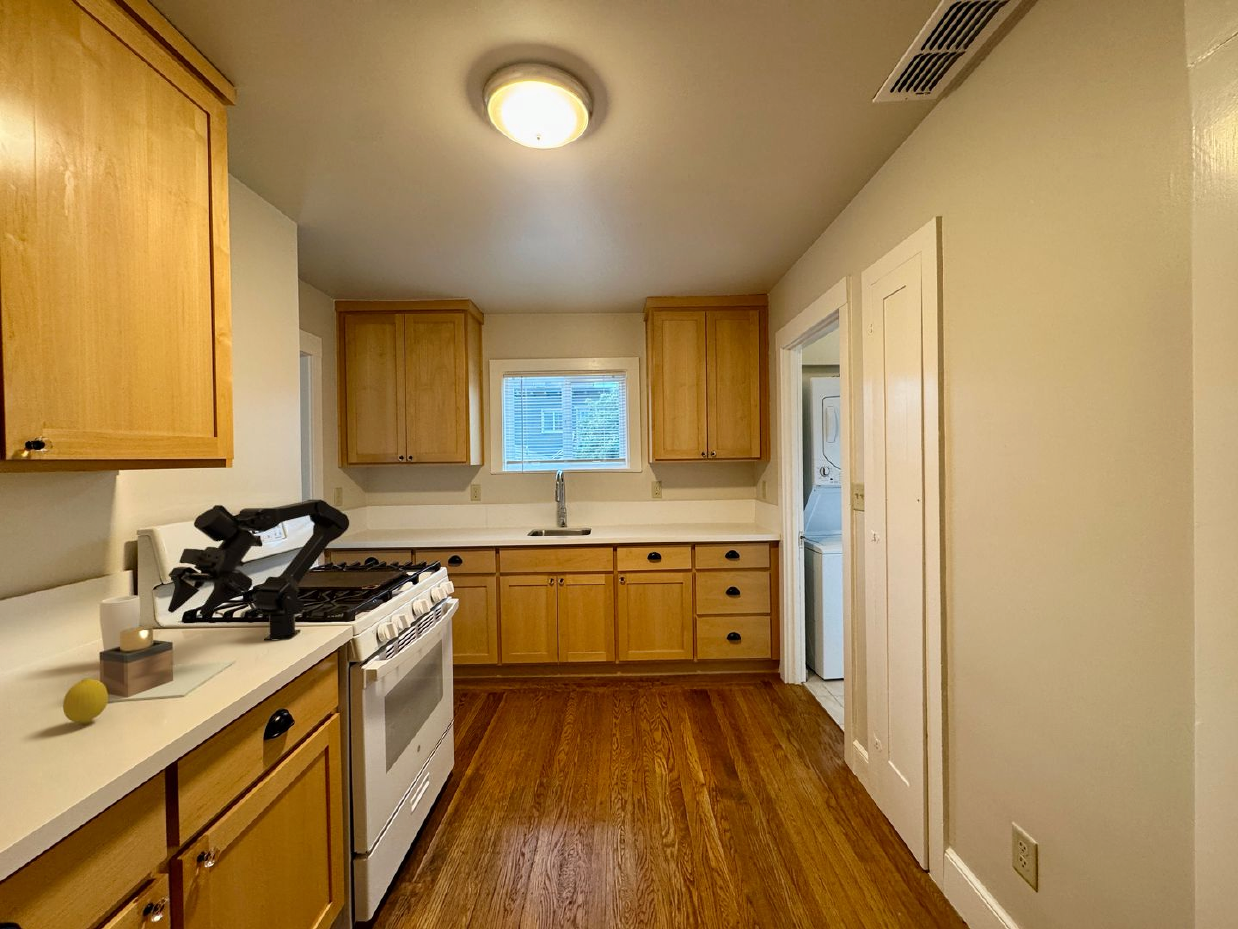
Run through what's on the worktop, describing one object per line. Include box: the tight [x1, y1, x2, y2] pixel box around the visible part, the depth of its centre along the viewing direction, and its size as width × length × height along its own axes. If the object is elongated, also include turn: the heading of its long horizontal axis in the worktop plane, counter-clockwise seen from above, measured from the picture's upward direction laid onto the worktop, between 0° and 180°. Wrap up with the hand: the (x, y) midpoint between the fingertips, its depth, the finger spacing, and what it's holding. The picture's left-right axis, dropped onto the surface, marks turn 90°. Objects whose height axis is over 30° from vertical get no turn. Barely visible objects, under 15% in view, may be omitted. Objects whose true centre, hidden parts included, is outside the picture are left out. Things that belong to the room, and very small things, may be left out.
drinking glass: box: [99, 594, 141, 651], centre depth 121 cm, size 7×7×15 cm
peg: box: [120, 625, 154, 653], centre depth 107 cm, size 5×5×8 cm
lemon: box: [62, 678, 108, 725], centre depth 93 cm, size 6×6×8 cm
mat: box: [107, 660, 236, 703], centre depth 111 cm, size 18×18×1 cm
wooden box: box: [98, 639, 174, 697], centre depth 107 cm, size 8×8×8 cm
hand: (185, 613), depth 115 cm, fingers open, 9 cm apart
